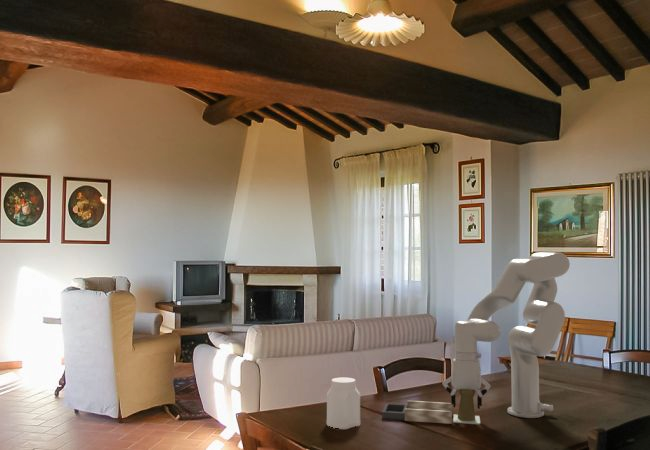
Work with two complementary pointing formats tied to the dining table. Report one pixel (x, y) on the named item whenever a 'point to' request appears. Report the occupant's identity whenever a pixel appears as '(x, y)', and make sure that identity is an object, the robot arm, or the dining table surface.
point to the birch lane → (429, 412)
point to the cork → (466, 405)
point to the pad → (476, 421)
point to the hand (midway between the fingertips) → (466, 406)
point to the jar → (343, 404)
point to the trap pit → (394, 411)
